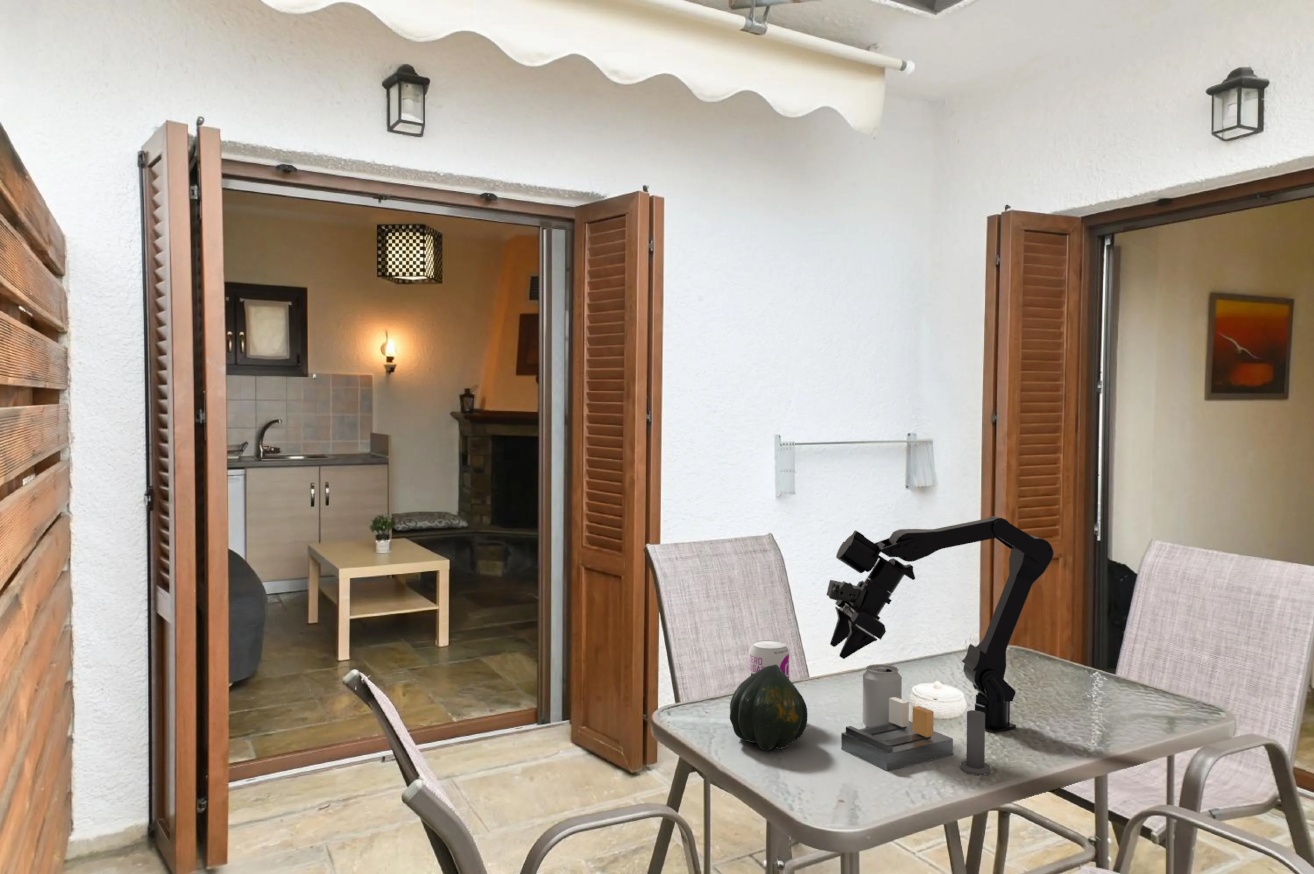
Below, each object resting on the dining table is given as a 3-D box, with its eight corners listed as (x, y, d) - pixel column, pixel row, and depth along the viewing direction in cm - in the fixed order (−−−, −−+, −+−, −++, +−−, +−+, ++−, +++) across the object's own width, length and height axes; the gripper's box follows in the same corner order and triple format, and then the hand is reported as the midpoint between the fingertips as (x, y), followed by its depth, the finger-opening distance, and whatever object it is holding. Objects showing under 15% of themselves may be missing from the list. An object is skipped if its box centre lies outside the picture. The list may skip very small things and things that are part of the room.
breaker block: (905, 734, 177) (905, 713, 177) (952, 754, 166) (953, 731, 166) (841, 748, 169) (841, 726, 169) (886, 770, 158) (886, 746, 158)
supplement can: (793, 713, 189) (794, 641, 189) (781, 725, 182) (782, 650, 181) (756, 708, 193) (756, 637, 192) (743, 719, 185) (743, 646, 185)
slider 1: (895, 720, 175) (895, 696, 174) (908, 725, 171) (908, 701, 171) (888, 721, 174) (889, 697, 174) (902, 727, 171) (902, 703, 171)
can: (902, 734, 177) (902, 673, 176) (862, 732, 178) (863, 671, 178) (900, 722, 184) (900, 663, 184) (862, 719, 185) (862, 661, 185)
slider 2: (918, 729, 169) (919, 705, 169) (933, 735, 166) (933, 711, 166) (912, 731, 168) (912, 707, 168) (926, 737, 165) (927, 712, 165)
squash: (729, 730, 163) (781, 664, 165) (705, 708, 177) (753, 647, 180) (786, 778, 165) (836, 712, 168) (757, 752, 180) (804, 692, 182)
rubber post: (974, 762, 162) (974, 706, 162) (996, 771, 158) (997, 714, 158) (954, 767, 160) (954, 711, 160) (976, 777, 156) (977, 719, 155)
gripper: (836, 556, 190) (795, 619, 191) (855, 571, 172) (810, 641, 172) (880, 585, 191) (839, 647, 191) (905, 603, 172) (860, 672, 172)
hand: (836, 651), depth 181 cm, fingers open, 9 cm apart
